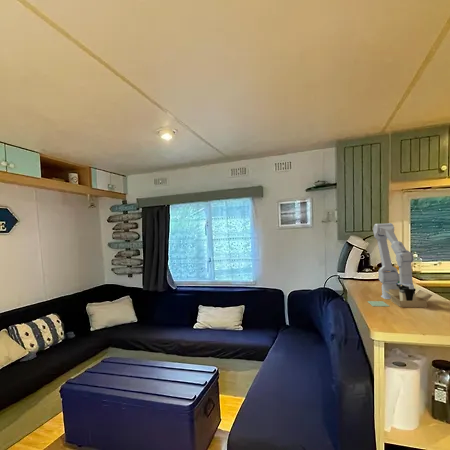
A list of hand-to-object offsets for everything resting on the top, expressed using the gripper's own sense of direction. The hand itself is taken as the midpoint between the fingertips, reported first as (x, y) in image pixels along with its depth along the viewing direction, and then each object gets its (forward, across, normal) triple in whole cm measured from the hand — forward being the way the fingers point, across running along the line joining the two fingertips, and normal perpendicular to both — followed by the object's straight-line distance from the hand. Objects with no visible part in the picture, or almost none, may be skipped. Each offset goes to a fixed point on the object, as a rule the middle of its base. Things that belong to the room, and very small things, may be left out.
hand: (407, 300), depth 156 cm
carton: (+2, -1, 0) cm, 2 cm away
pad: (+2, 0, -14) cm, 15 cm away
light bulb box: (+2, -29, +2) cm, 29 cm away
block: (+2, 0, 0) cm, 2 cm away
